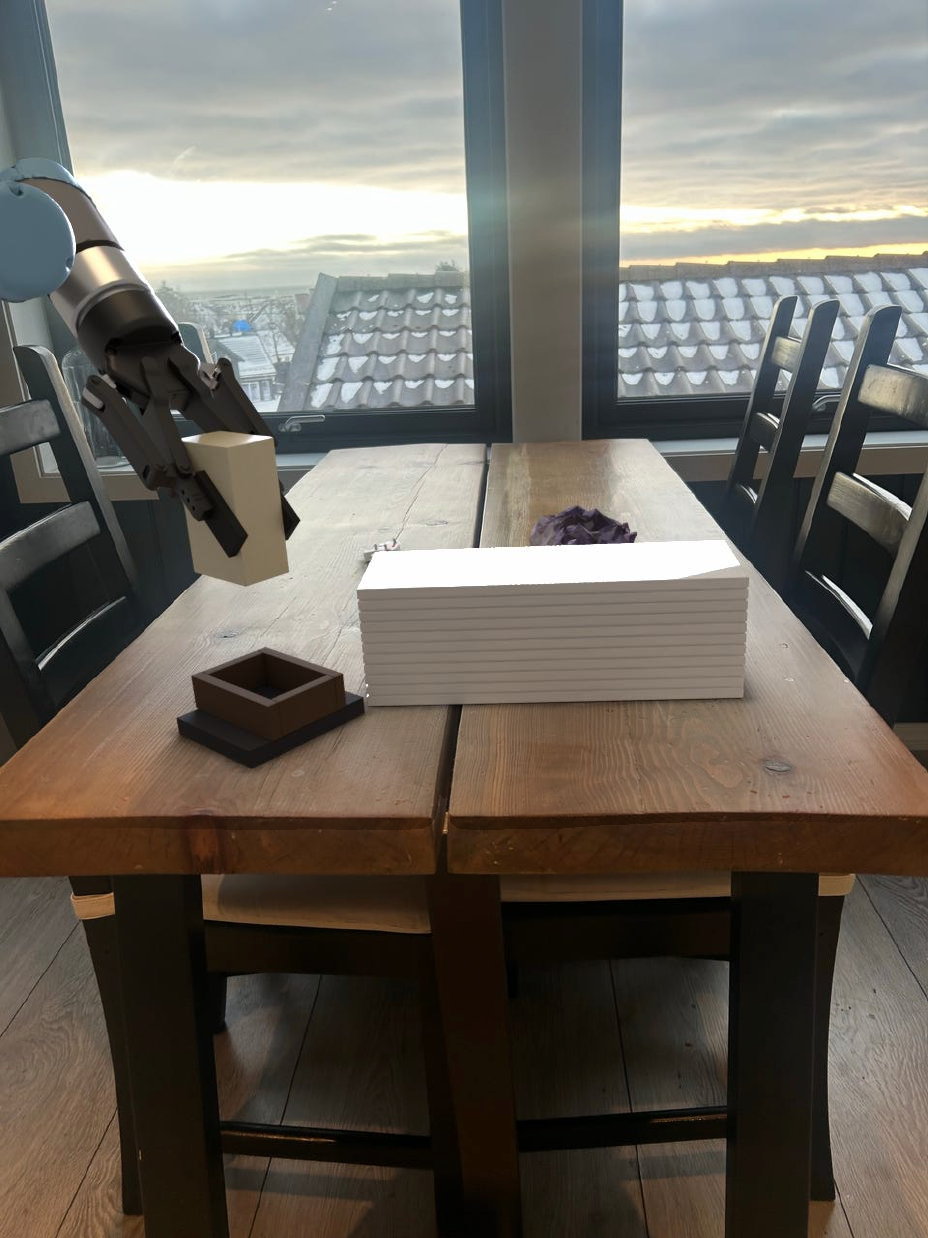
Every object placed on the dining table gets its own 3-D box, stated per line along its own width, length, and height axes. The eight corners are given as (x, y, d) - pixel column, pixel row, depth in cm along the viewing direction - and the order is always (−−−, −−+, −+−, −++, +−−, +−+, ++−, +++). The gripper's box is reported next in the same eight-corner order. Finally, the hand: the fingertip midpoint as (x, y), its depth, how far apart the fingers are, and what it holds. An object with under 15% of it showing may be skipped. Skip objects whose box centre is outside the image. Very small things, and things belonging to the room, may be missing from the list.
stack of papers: (367, 706, 87) (356, 589, 83) (384, 658, 97) (374, 552, 93) (743, 698, 84) (749, 576, 81) (720, 650, 94) (724, 539, 90)
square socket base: (253, 769, 77) (245, 716, 76) (177, 733, 84) (169, 684, 82) (366, 713, 85) (362, 665, 84) (289, 684, 92) (284, 639, 90)
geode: (678, 618, 103) (669, 527, 99) (570, 644, 102) (556, 553, 98) (618, 556, 121) (608, 477, 117) (526, 577, 120) (513, 498, 116)
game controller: (362, 556, 130) (360, 536, 129) (449, 547, 132) (448, 528, 131) (366, 568, 124) (365, 548, 123) (457, 559, 126) (456, 539, 125)
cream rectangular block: (245, 587, 78) (226, 447, 74) (194, 572, 83) (173, 439, 79) (289, 572, 81) (273, 437, 77) (237, 558, 86) (220, 430, 82)
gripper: (192, 340, 92) (330, 540, 87) (7, 363, 80) (154, 595, 75) (219, 278, 87) (366, 486, 82) (24, 292, 74) (184, 537, 70)
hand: (265, 538), depth 78 cm, fingers closed on cream rectangular block, 4 cm apart
